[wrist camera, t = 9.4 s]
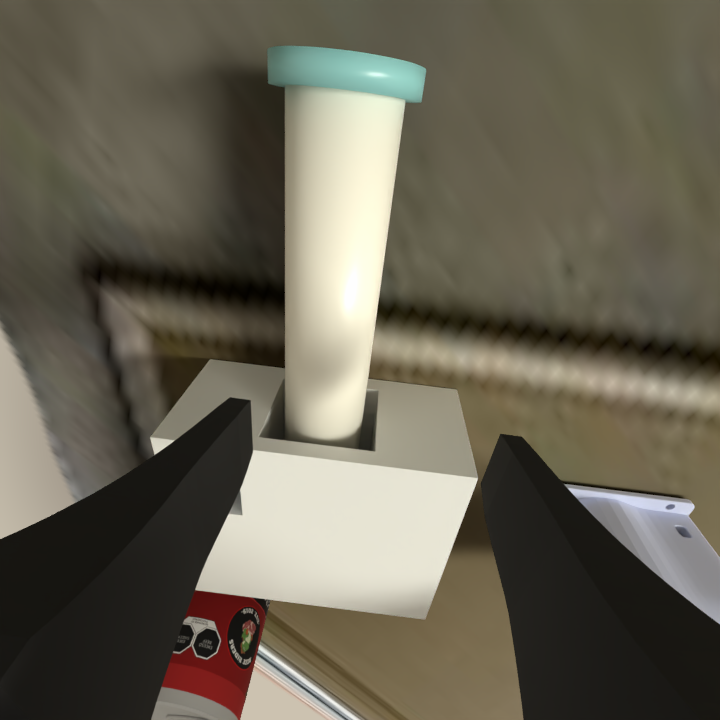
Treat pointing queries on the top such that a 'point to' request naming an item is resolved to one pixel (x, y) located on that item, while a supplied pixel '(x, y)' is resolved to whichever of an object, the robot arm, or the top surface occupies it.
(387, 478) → the housing
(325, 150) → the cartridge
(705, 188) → the top surface
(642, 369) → the top surface
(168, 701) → the canned food
